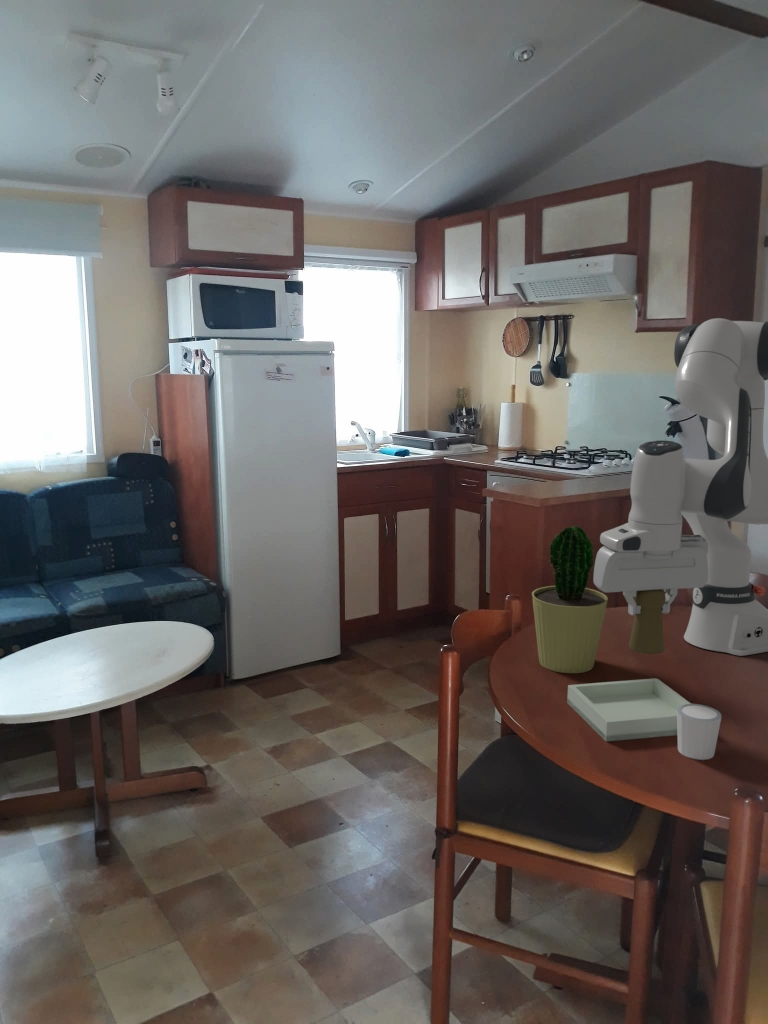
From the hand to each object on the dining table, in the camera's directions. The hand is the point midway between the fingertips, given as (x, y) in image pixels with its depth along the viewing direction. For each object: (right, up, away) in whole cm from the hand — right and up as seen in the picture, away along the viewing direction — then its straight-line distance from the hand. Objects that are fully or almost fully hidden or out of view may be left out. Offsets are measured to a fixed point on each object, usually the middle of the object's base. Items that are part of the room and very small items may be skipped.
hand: (648, 613), depth 146 cm
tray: (-2, -19, +4) cm, 19 cm away
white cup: (+5, -22, -9) cm, 24 cm away
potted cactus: (-8, -14, +29) cm, 34 cm away
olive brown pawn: (0, -6, +1) cm, 7 cm away
